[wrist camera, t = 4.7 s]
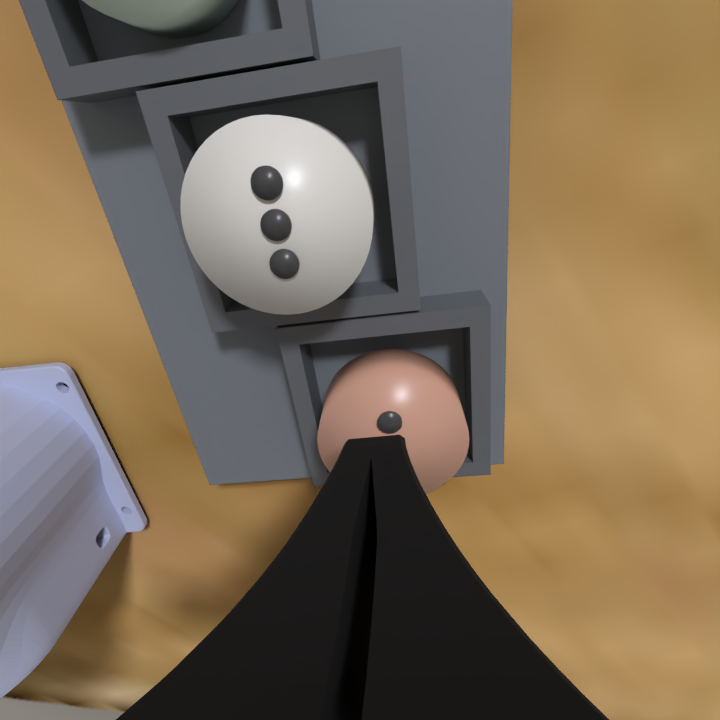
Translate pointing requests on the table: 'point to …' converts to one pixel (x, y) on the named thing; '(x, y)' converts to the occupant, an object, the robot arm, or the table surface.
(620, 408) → the table surface
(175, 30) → the sage button
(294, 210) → the cream button
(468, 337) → the button panel
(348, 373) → the clay button
